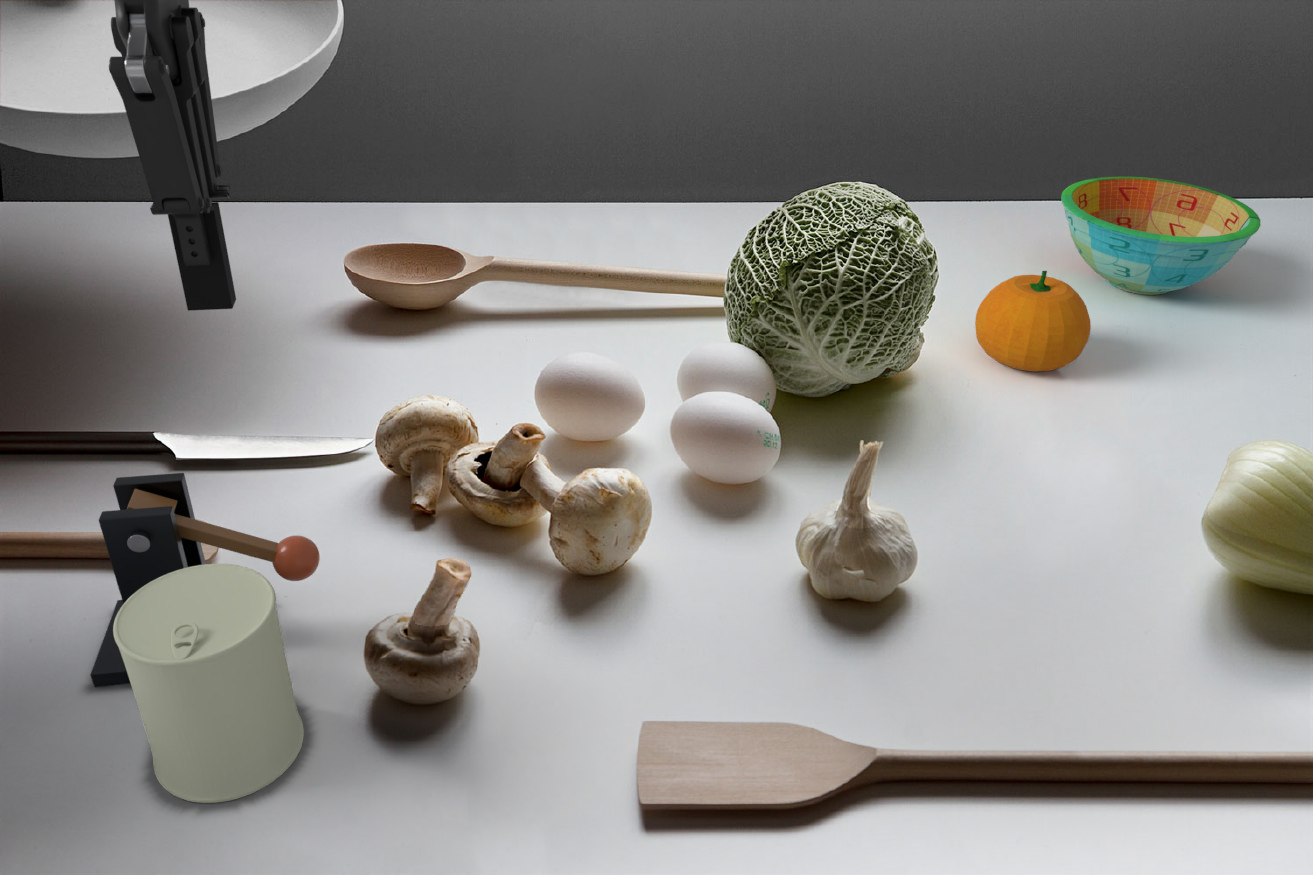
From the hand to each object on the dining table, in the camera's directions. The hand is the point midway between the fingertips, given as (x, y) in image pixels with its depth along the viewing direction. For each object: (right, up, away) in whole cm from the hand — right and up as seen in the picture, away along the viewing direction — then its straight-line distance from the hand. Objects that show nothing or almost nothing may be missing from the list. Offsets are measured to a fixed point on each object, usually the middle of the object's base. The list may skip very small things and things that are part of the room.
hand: (212, 304), depth 72 cm
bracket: (-6, -23, +10) cm, 26 cm away
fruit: (+68, 0, +50) cm, 85 cm away
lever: (-2, -17, +6) cm, 18 cm away
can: (+1, -29, +1) cm, 29 cm away
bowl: (+88, +10, +68) cm, 112 cm away
